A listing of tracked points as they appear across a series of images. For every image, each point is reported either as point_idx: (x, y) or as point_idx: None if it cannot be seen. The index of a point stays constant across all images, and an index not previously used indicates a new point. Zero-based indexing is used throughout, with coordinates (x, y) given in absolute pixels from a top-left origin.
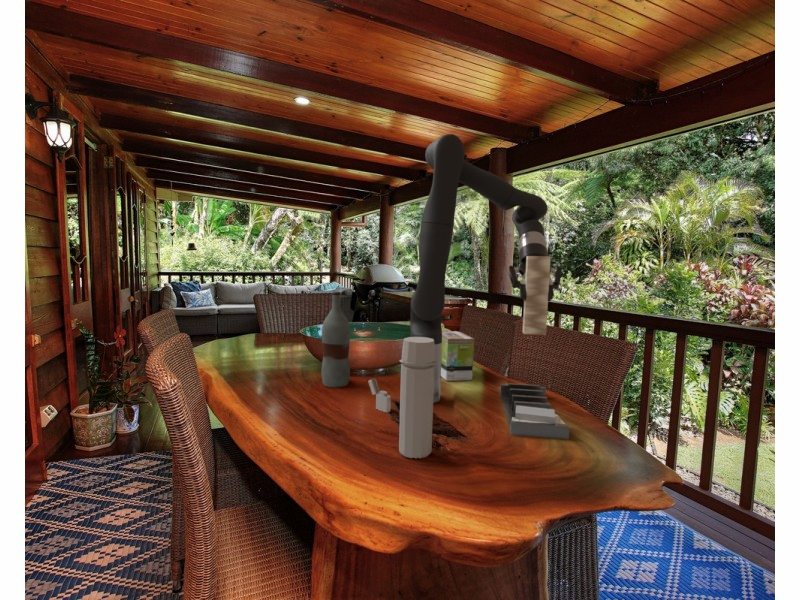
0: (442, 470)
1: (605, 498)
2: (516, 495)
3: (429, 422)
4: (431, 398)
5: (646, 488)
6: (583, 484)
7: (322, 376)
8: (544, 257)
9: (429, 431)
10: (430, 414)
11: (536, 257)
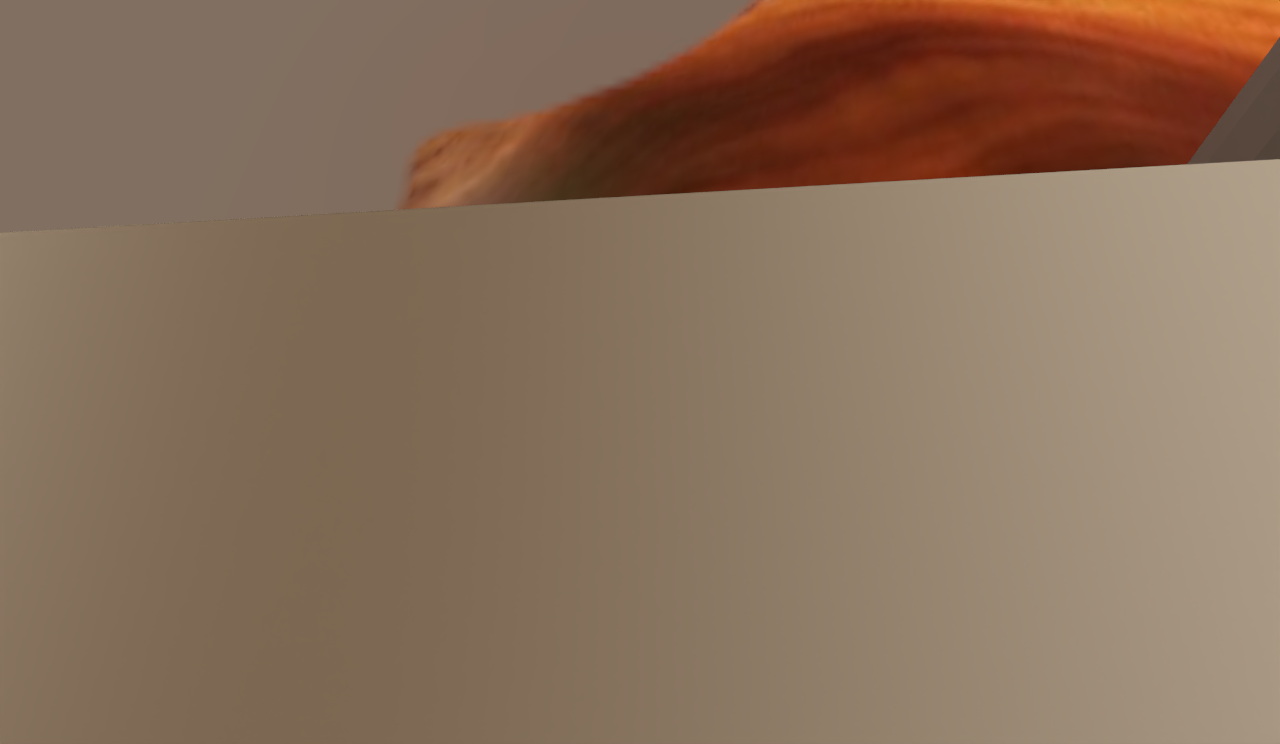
0: (1069, 155)
1: (573, 123)
2: (822, 81)
3: (1212, 131)
4: (1266, 69)
5: (431, 199)
6: (614, 178)
7: None
8: (182, 262)
9: (1192, 160)
10: (1227, 116)
11: (726, 246)
